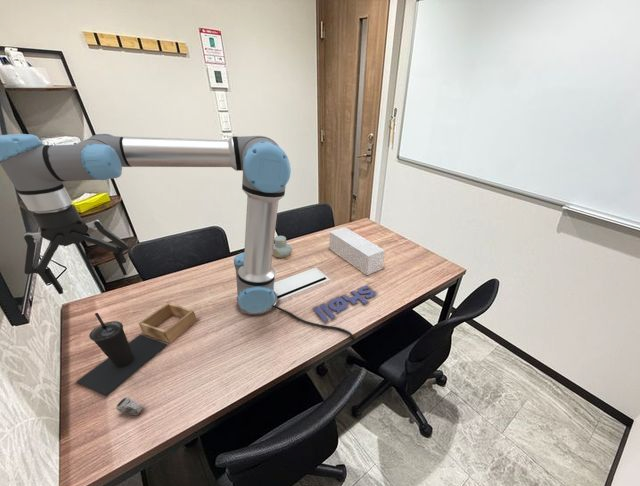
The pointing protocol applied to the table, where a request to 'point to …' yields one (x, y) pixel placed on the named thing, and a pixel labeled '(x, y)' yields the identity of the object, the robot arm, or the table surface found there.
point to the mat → (111, 376)
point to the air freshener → (281, 247)
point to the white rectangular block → (357, 250)
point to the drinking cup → (112, 342)
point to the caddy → (160, 315)
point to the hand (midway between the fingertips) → (94, 281)
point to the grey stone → (128, 402)
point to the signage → (343, 302)
